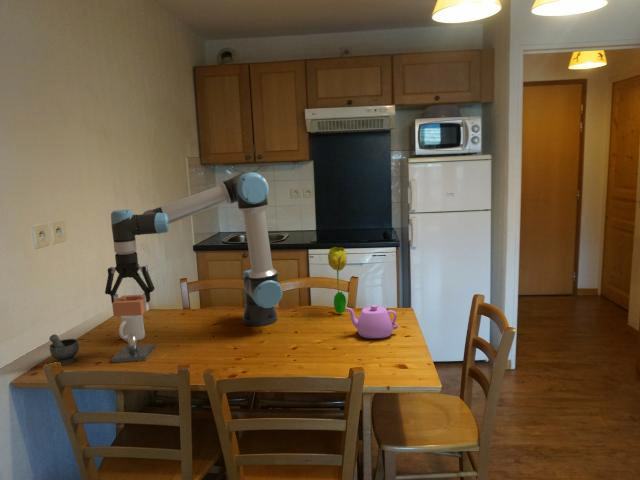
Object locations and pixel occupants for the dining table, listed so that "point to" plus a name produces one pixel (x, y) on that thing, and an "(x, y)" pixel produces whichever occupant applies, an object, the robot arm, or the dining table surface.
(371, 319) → the teapot
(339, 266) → the flower
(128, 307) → the terracotta brick slab
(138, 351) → the block
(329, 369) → the dining table surface
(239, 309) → the dining table surface
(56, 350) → the mortar and pestle
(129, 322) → the mug
